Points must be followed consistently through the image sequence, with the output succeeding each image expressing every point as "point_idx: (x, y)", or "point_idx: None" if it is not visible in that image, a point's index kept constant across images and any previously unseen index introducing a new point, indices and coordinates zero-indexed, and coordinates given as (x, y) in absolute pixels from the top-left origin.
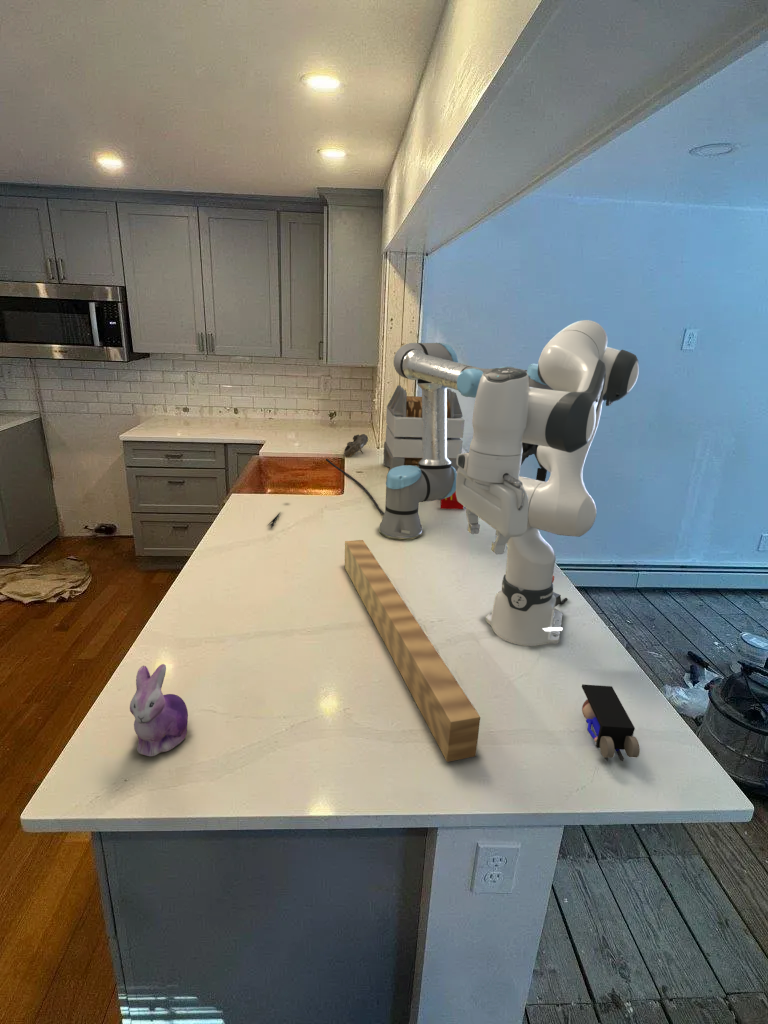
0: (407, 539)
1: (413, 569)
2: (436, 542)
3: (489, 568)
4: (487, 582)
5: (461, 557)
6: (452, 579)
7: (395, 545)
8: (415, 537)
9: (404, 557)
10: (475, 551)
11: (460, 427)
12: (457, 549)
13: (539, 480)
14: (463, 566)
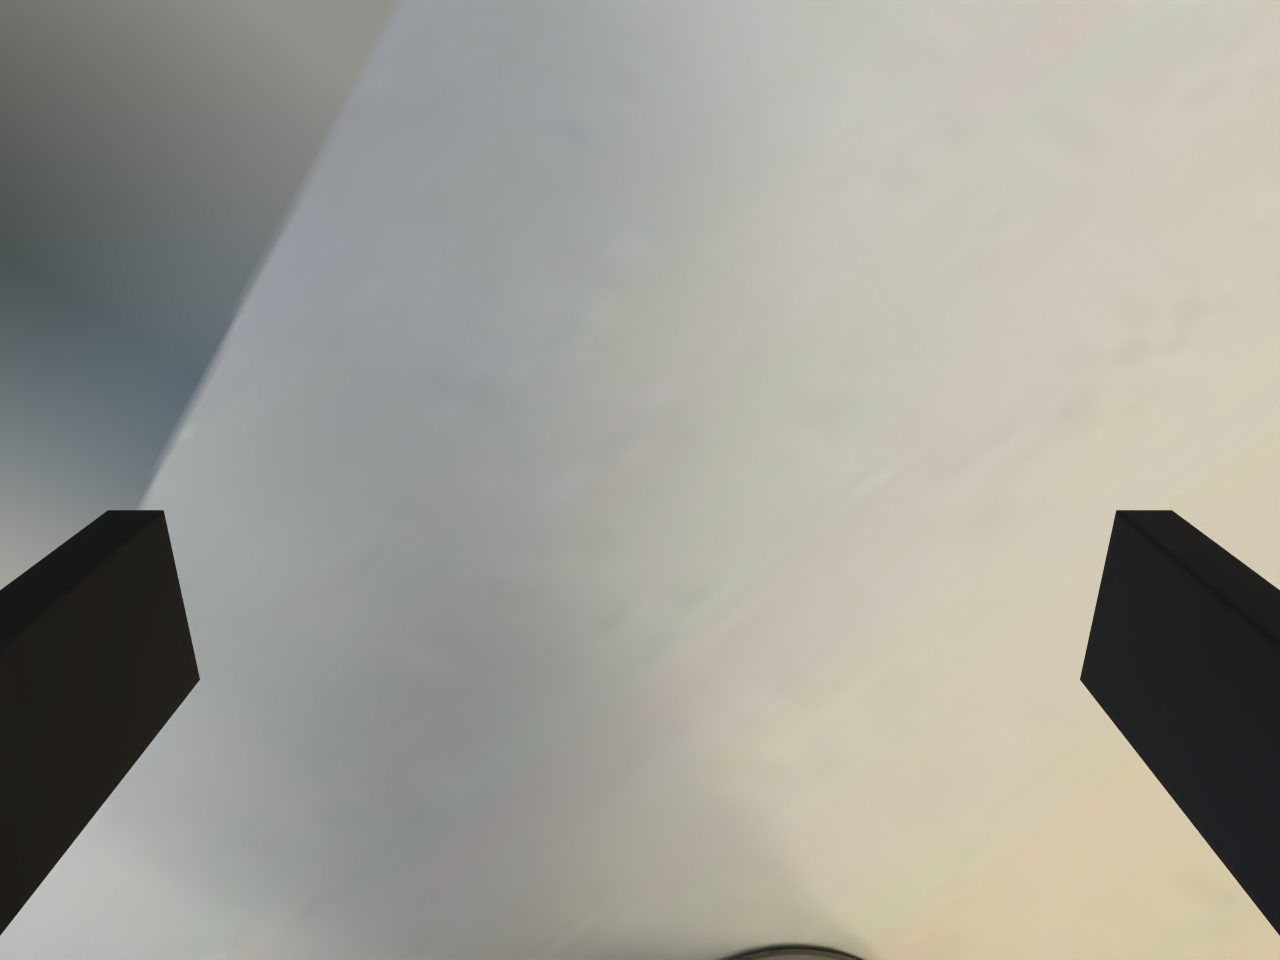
0: (845, 958)
1: None
2: (713, 860)
3: (736, 427)
4: (937, 280)
5: (758, 641)
6: (1087, 447)
7: (956, 937)
8: (789, 954)
9: (1051, 808)
10: (600, 656)
11: None
12: (681, 733)
13: (52, 742)
14: (861, 543)
